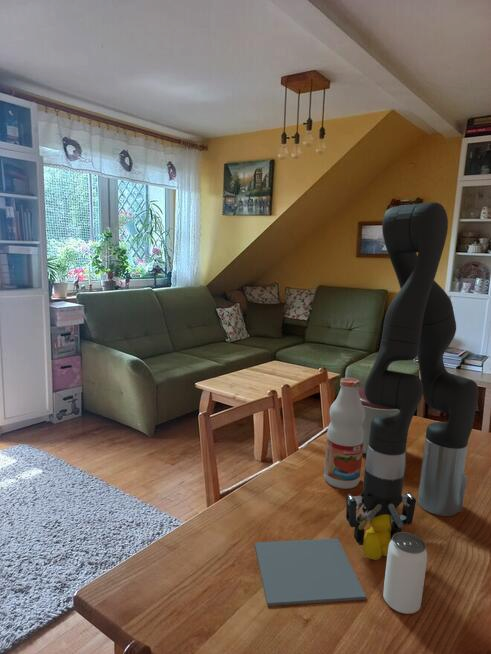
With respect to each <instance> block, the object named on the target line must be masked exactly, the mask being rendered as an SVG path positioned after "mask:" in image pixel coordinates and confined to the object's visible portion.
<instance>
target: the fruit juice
mask: <svg viewBox="0 0 491 654" xmlns="http://www.w3.org/2000/svg"><path fill="white" fill-rule="evenodd" d="M360 385H361V382H360V380H359V379H357V378H354V377H342V378H340V381H339V386H340V389H339V391H338V394H337V397H336V399H335V400H334V401H333V403H332V404H331V406H330V407H329V419H330V423H329V424H328V427H327V431H326V432H327V434H326V446H325V456H324V457H325V460H324V470H323V471H324V472H323V476H324V480H325V481H326V483H328V484H329V485H331V486H332V487H335V488H338V489H346V490H347V489H353V488H356V487H357V486H358V485H359V483H360V481H361V473H362V472H361V471H362V460H363V453H362V452H363V442H364V429H363V422H364V420H365V409H364V407H363V405H362V403H361V400H360V396H359V392H358V388H360Z"/></svg>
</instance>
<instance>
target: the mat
mask: <svg viewBox="0 0 491 654" xmlns="http://www.w3.org/2000/svg"><path fill="white" fill-rule="evenodd" d="M254 549H255V554H256V559H257V563H258V568H259V573H260V577H261V578H260V579H261V581H262V588H263V591H264V592H263V593H264V597H265V601H266V605H267V607H274V606H275V607H277V606H287V605H290V606H291V605H305V604H315V603H332V602H346V601H359V600H360V601H361V600H367V595H366V593H365V591H364V589H363V587H362V585H361V583H360V581H359V578H358V576H357V575H356V572H355V571H354V568H353V566H352V564H351V562H350V560H349V558H348V556H347V554H346V552H345V550H344V548H343V546H342V544H341V542H340V539H339V538H318V539H301V540H300V539H298V540H297V539H296V540H279V541H262V542H261V541H260V542H259V541H258V542H254Z"/></svg>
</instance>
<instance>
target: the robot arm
mask: <svg viewBox="0 0 491 654" xmlns="http://www.w3.org/2000/svg"><path fill="white" fill-rule="evenodd" d="M382 218H383V219H382V226H381V227H382V228H381V229H382V237H383V241H384V245H385V248H386V251H387V254H388V257H389V260H390V263H391V264H392V267H393V269H394V273H395V275H396V278H397V281H398V284H399V287H400V290H399V291H398V293H397V294H396V295H395V296H394V298H392V301H391V303H390V304H389V306H388V308H387V310H386V313H385V316H384V320H383V327H382V332H381V333H382V334H381V340H380V345H379V350H378V353H377V355H376V359H375V361H374V363H373V366H372V368H371V370H370V372H369V374H368V376H367V377H366V380H365V383H364V392H365V396H366V398H367V400H368V401H369V402H370V403H372V404H374V405H379V406H384V407H389V408H394V409H398V410H400V412H399V413H398V414H395V415H379V416H376V417H374V418H373V419H372V421H371V427H370V436H369V446H368V450H367V454H365V464H364V465H365V466H364V475H363V485H362V487H363V488H362V491H361V494H360V495H356V496H355V495H354V496H353V494H351V493H349V494H348V493H347V495H346V506H345V509H346V510H345V519H346V521H347V522H348V524H349V527H350V528H354V530H353V531H354V532H353V538H354V540H355V541H356V543H357V544H358V546H363V541H364V537H365V532H366V531H365V527H366V526H367V524H368V523H370V522H371V520H372V519H373V517H377V516H380V515H385V514H386V515H390V514H392V517H393V522H392V525H391V527H390V531H391V540H392V536H393V535H394V534H396V533H398V532H403V527H404V526H406V525H408V526H411V525H412V524H413V521H414V520H413V519H414V515H415V509H416V504H417V502H418V505H419V507H421V508H422V509H423V510H425V511H426V512H428V513H431V514H434V515H436V516H442V517H450V516H455V515H456V514H457V513H459V512H462V511H463V505H464V500H465V499H464V498H465V491H466V485H467V480H468V479H467V478H468V475H467V474H466V473H465V472H464V471H465V466H466V458H467V450H468V445H469V439H470V437H471V434H472V430H473V426H474V420H475V417H476V416H475V415H476V411H477V407H478V402H479V393H480V392H479V386H478V384H477V382H476V381H474V380H473V379H470V378H468V377H464V376H460V375H457V374H453V373H450V372H448V371H447V369H446V367H445V364H444V354H445V353H446V351H447V349H448V348H449V346H450V345H451V343H452V341H453V340H454V337H455V336H456V333H457V322H456V317H455V313H454V312H455V311H454V307H453V302H452V300H451V298H450V297H449V295H448V294H447V292H446V291H445V290H444V289H443V288H442V286H441V285H439V283H438V282H436V280H435V279H436V275H437V272H438V268H439V265H440V263H441V262H440V261H441V258H442V254H443V253H444V252H443V251H444V247H445V245H446V239H447V236H448V231H449V230H448V229H449V228H448V227H449V218H448V213H447V211H446V209H445V207H444V206H443V205H442V204H441V203H439V202H437V201H436V202H420V203H414V204H411V203H410V204H403V205H395V206H392V207H390V208H388V209H387V210H386V211H385V213H384V215H383V216H382ZM416 358H417V363H418V367H419V376H420V377H418V376H417V375H416V374H411V373H406V372H401V371H394V370H393V371H392V370H388V369H389V366H390V365H391V364H392V363H394V362H399V361H404V362H405V361H412V360H415V359H416ZM422 397H423V399H424V401H425V403H426V404H427V405H428V406H429V407H430V408H432V409H434V410H437V411H440V412H441V413H445V414H447V415H449V416H448V419H447V421H435V422H431V423H429V424H428V425H427V426H426V431H425V438H424V445H423V446H424V447H423V455H422V463H421V470H420V471H421V472H420V479H419V485H418V486H419V487H418V495H417V499H416V498H415V497H414V496H413V495H412V493H411V492H410V491H407V492H405V493H403V488H404V487H403V486H404V481H405V470H406V463H407V462H406V453H407V452H406V451H407V440H408V435H409V430H410V425H411V423H412V419H413V417H414V414H415V413H416V411H417V409H418V407H419V405H420V402H421V400H422ZM402 493H403V494H402ZM361 503H362V505H361V506H360V504H361ZM401 504H402V508H401V515H399V513H398V511H397V508H399V506H400V505H401ZM359 506H360V508H359ZM357 509H359V511H358V513H357Z"/></svg>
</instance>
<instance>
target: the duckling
mask: <svg viewBox="0 0 491 654" xmlns="http://www.w3.org/2000/svg"><path fill="white" fill-rule="evenodd" d="M392 522H394V520H393V517H392V514H390V515H386V514H385V515H380V516H377V517H373V519H372V520H371V522H369V525H370V526H369V527H370V528H369V529H367V530H366V531H365V532H364V541H363V545H362V546H363V547H362V552H363V554H364V556H365V557H366V558H368V559H371V560H375V561H377V560H379V559H381V558H382V557H387V555H388V547H389V543H390V541H391V525H392Z"/></svg>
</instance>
